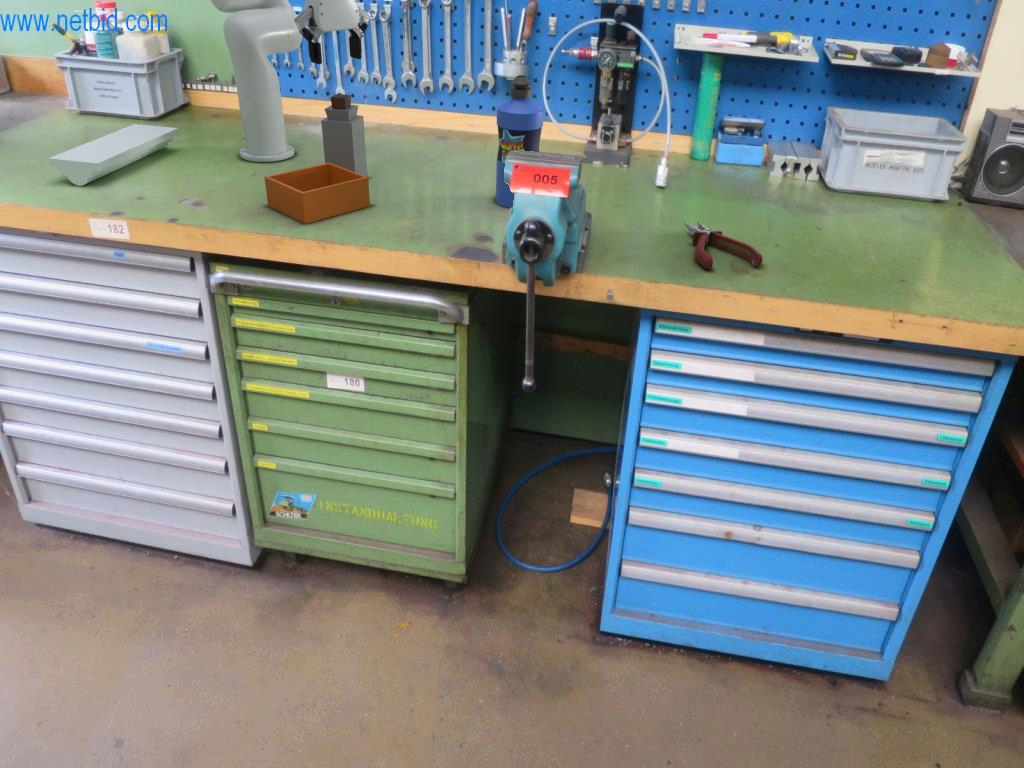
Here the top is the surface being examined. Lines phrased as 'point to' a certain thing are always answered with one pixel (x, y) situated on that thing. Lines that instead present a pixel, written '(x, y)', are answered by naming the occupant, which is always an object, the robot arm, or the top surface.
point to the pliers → (720, 246)
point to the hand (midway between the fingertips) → (336, 60)
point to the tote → (317, 192)
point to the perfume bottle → (344, 135)
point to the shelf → (111, 152)
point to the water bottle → (516, 131)
